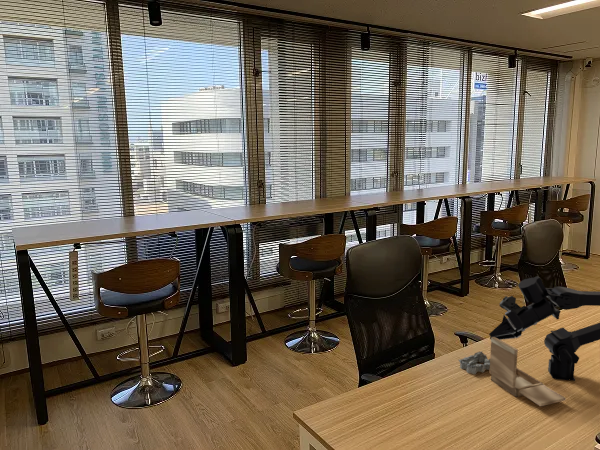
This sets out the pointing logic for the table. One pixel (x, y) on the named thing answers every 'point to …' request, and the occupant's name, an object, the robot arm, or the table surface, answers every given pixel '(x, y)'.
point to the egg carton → (475, 363)
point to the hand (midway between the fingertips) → (490, 337)
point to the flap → (503, 361)
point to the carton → (530, 389)
